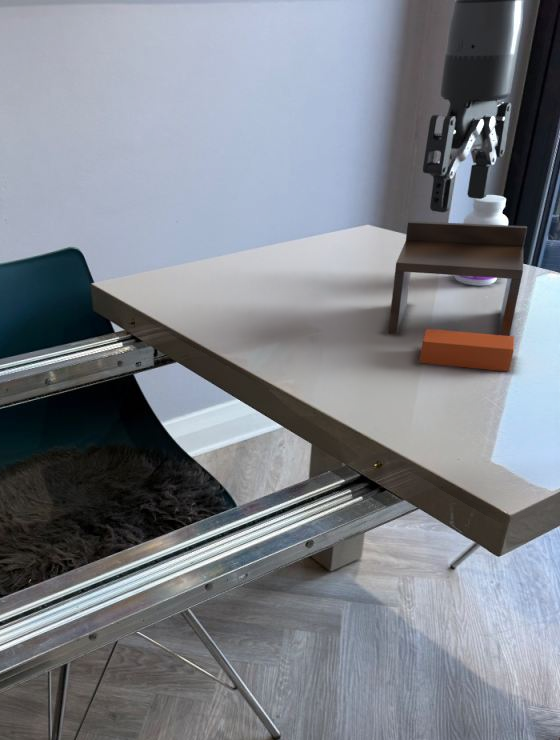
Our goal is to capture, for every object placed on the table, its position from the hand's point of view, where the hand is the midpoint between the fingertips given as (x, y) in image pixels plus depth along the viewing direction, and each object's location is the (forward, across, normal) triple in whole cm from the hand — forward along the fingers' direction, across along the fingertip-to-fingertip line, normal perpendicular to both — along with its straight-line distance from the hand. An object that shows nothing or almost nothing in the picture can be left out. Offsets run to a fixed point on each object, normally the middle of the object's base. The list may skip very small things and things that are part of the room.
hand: (458, 204), depth 95 cm
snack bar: (+19, 0, -4) cm, 19 cm away
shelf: (+19, +10, +4) cm, 22 cm away
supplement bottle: (+19, +30, +11) cm, 37 cm away
